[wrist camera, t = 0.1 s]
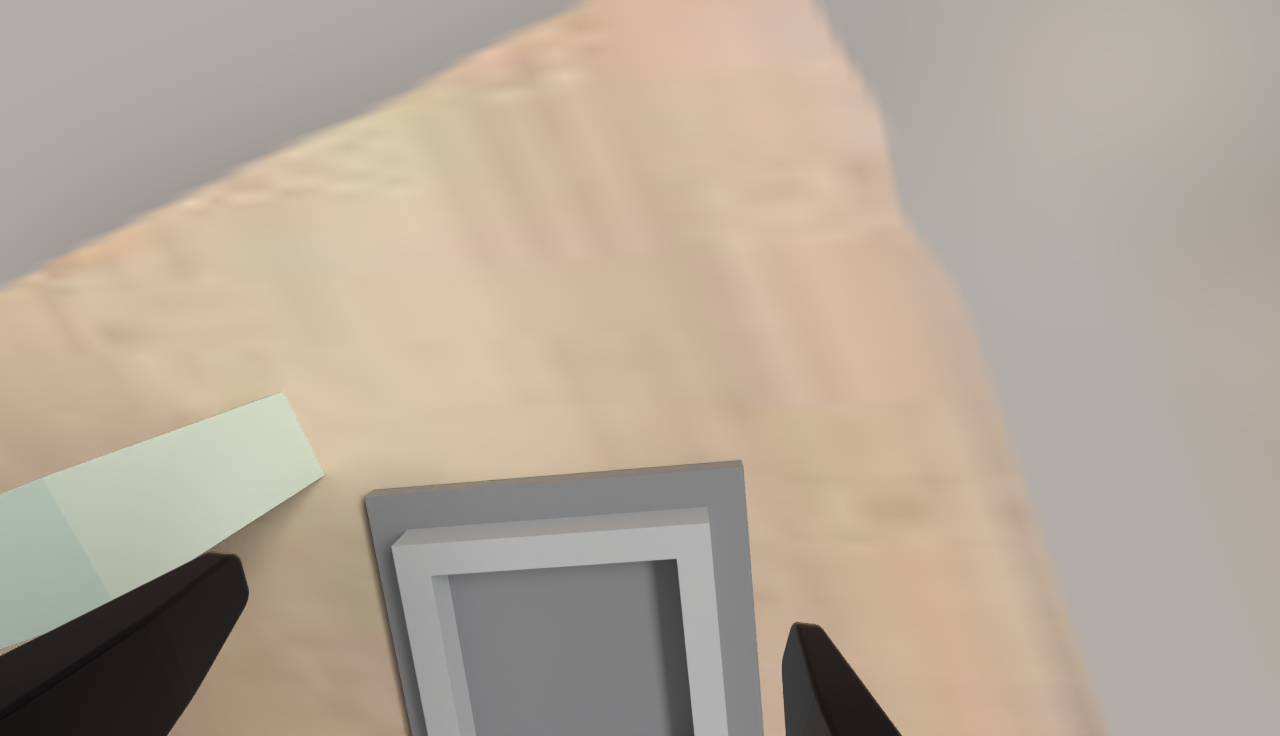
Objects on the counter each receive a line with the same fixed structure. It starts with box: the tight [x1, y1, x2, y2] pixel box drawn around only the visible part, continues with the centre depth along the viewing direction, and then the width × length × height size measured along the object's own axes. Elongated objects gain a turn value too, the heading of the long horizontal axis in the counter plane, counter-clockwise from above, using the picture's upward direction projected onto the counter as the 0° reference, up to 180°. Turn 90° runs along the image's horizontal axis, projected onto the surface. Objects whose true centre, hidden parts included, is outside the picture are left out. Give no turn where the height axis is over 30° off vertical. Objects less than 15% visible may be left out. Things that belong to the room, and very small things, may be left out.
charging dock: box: [364, 460, 764, 736], centre depth 26 cm, size 16×16×2 cm
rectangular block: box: [0, 391, 325, 649], centre depth 21 cm, size 4×5×10 cm
